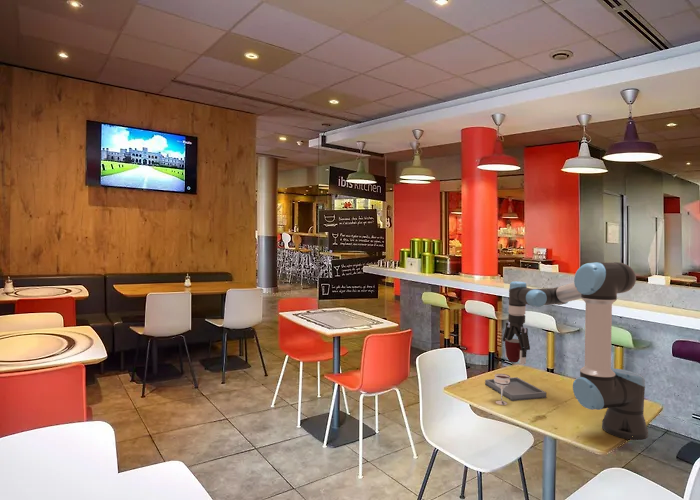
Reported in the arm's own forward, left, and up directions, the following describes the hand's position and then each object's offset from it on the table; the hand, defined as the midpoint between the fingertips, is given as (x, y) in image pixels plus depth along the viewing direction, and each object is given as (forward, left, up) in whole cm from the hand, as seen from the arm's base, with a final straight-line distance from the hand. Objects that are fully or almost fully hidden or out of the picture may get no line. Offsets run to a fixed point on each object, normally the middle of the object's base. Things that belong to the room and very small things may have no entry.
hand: (515, 360), depth 216 cm
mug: (0, 0, -1) cm, 1 cm away
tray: (0, 0, -15) cm, 15 cm away
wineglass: (-12, +15, -15) cm, 24 cm away
